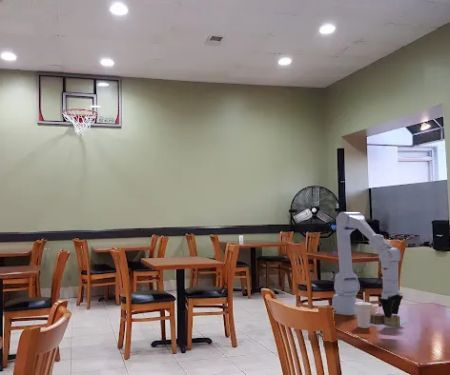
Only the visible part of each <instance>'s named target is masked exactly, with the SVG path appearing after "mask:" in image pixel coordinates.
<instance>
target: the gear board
mask: <svg viewBox="0 0 450 375" xmlns="http://www.w3.org/2000/svg"><path fill="white" fill-rule="evenodd" d="M374 313H375V315H379V313H380V312H374ZM394 315H395V314H392V315H391V317H394ZM409 321H410V319H405V318H400V325H393V326H392V325H386V324H384V323H381V324H379V323H372V322H370V326H373V327H381V328H387V329H388V328H389V329H397V328H398V327H400V326H401V325H403V324H405V323H407V322H409Z"/></svg>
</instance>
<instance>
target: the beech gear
mask: <svg viewBox="0 0 450 375" xmlns="http://www.w3.org/2000/svg"><path fill="white" fill-rule="evenodd" d="M393 315H394V317H391V318H387V317H385V315H384V324H386V325H392V326H393V325H400V319H401V316H400V315H398V314H393ZM400 326H401V325H400Z"/></svg>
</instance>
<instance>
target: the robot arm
mask: <svg viewBox="0 0 450 375" xmlns="http://www.w3.org/2000/svg"><path fill="white" fill-rule="evenodd" d="M335 222H336V241H337V242H336V244H337V258H338V268H339V270H338V273H337V274H336V275H335V276H334V283H333V288H334V292H335V294H333V296H332V300H331V303H332V304H331V305H332V307H333V308H334V309H335V311H334V313H333V314H338V315H344V316H356V315H357V314H356V307H355V306H354V305H355V303H356V302H357V295H358V292H359V291H360V289H361V287H360V286H361V284H360V281H359V279H358V275H357V274H356V273H355V272H354V270H353V259H352V246H351V245H352V244H351V234H352V232H354V231H355V230H356V229H357V230H359V232H360V233H361V234H362V235H364V236H365V238H367V239H368V244H369V246H370V247H372V248H371V249H373V250H374V251H375V252H376V253H377V254H378V260H379V261H380V263H381V264H380V267H381V268H382V270H381V272H382V292H381V297H378V301H379V303H380V305H381V307H382V311H383V314H384V315H385V317H387V318H391V315H392V314H393V315H398V314H399V310H400V305H401V302H402V300H403V298H404V295H402V294H403V292H402V291H400V289H399V288H400V286H399V285H400V284H399V283H400V282H399V262H400V261H401V260H402V252H401V251H400V249H399V248H398V247H396V246H395V247H394V246H392V245H391V244H390V243H389V242H388V241H387V240H386V239H385V238H384V235H382V234H377V233H376V232H375V231H374V229H372V227H371V226H370V225H369V224H368V222H367V221H366V218H365V216H364V215H363V214H362V213H361V212H359V211H348V212H347V211H340V212H339V213H338V215H337V216H336V217H335ZM332 307H331V308H332Z"/></svg>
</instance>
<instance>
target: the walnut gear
mask: <svg viewBox="0 0 450 375" xmlns="http://www.w3.org/2000/svg"><path fill="white" fill-rule="evenodd" d="M375 313H376V312H371V316H370V322H372V323H379V324H381V323H384V313H381V312H378V313H379V315H375Z"/></svg>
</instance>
